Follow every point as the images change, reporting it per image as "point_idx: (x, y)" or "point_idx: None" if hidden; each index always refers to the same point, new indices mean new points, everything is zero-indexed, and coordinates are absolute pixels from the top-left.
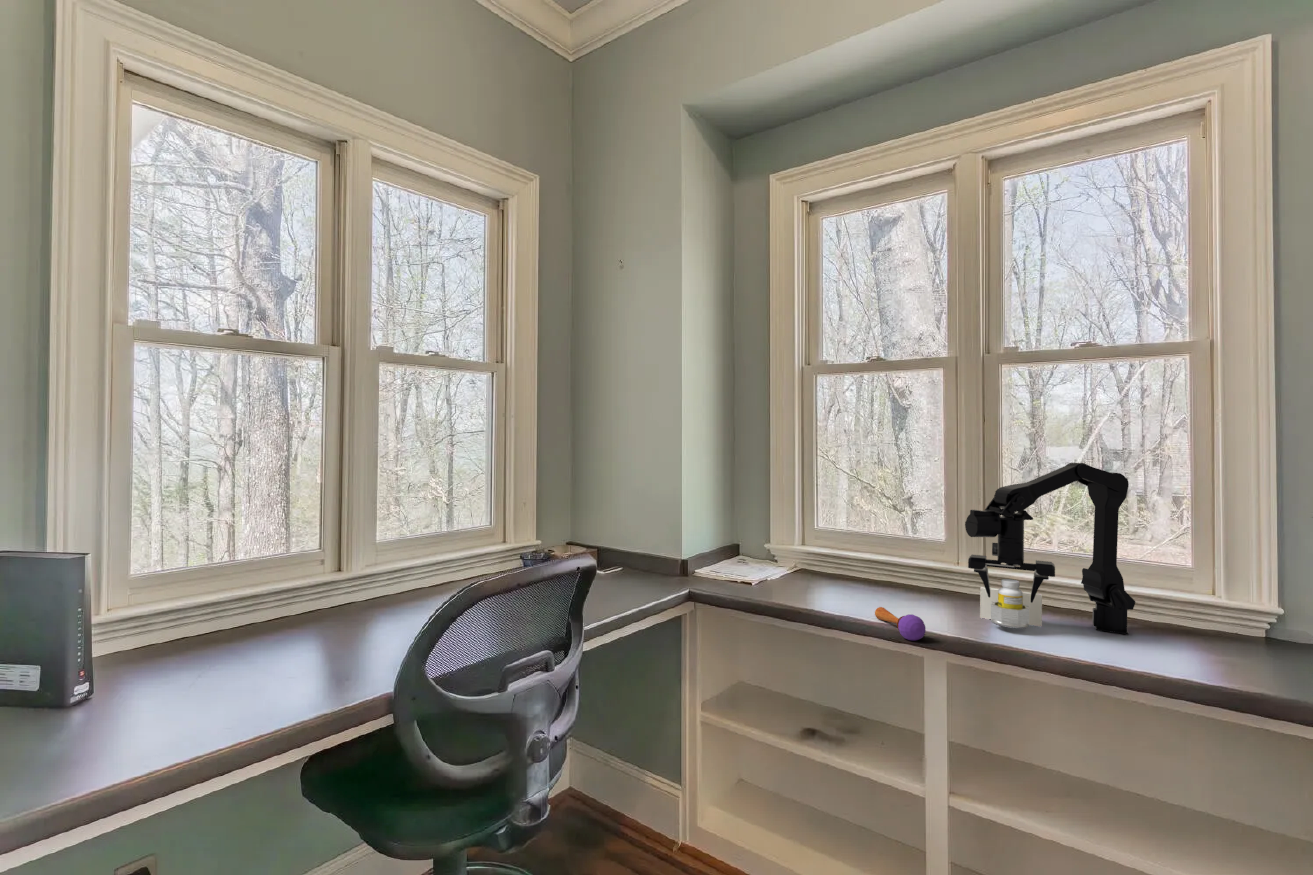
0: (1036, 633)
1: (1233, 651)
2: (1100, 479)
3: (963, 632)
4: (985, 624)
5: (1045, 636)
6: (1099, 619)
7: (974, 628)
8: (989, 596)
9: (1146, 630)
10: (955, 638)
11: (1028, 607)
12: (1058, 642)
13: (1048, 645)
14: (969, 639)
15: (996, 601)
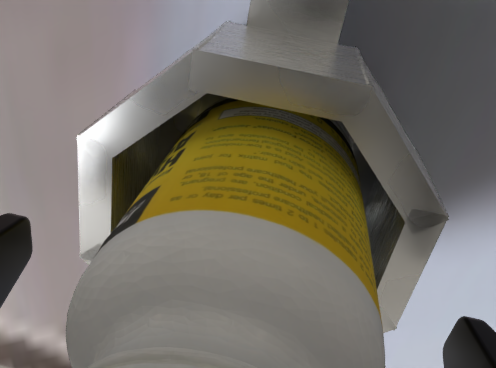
0: (430, 175)
1: None
2: None
3: (26, 273)
4: (123, 63)
5: (463, 223)
6: None
7: (66, 186)
8: (20, 263)
9: None
10: (13, 358)
11: (421, 261)
12: (487, 312)
13: (402, 363)
14: (65, 358)
15: (124, 103)
